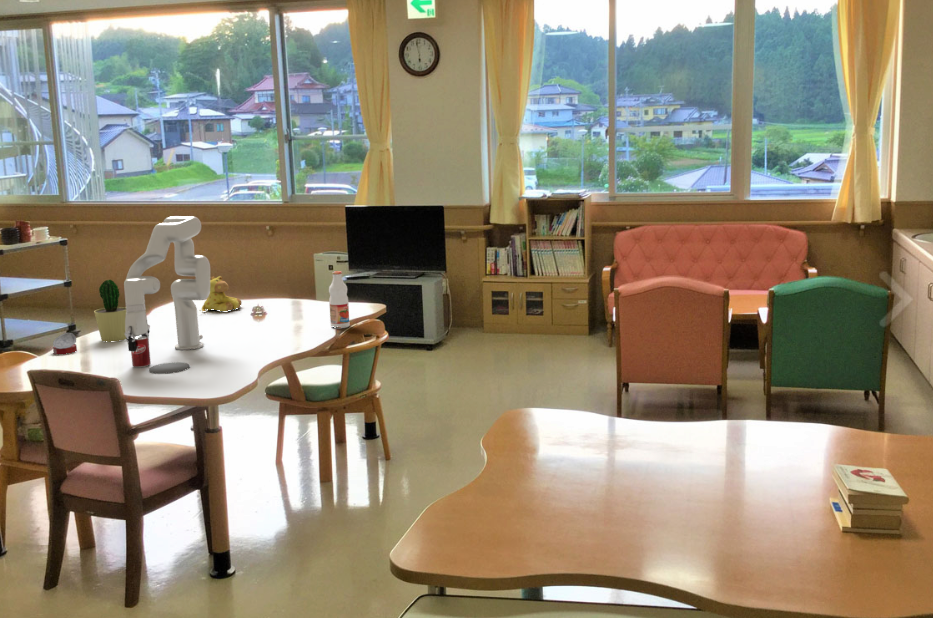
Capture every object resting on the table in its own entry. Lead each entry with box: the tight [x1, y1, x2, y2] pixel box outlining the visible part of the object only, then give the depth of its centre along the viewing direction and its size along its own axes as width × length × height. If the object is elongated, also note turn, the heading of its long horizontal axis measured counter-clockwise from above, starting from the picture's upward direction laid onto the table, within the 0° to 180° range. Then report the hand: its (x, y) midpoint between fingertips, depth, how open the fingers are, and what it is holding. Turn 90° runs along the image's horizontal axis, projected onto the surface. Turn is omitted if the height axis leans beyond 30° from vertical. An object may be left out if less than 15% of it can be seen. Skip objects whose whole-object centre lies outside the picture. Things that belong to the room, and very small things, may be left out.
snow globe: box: [52, 332, 78, 355], centre depth 396 cm, size 11×10×10 cm
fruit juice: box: [328, 270, 351, 329], centre depth 433 cm, size 9×9×28 cm
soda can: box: [130, 335, 152, 368], centre depth 364 cm, size 7×7×12 cm
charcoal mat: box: [148, 361, 190, 374], centre depth 359 cm, size 16×16×1 cm
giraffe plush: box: [201, 275, 243, 312], centre depth 493 cm, size 20×24×19 cm
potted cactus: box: [93, 279, 127, 343], centre depth 418 cm, size 15×15×30 cm
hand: (139, 348), depth 363 cm, fingers open, 9 cm apart
